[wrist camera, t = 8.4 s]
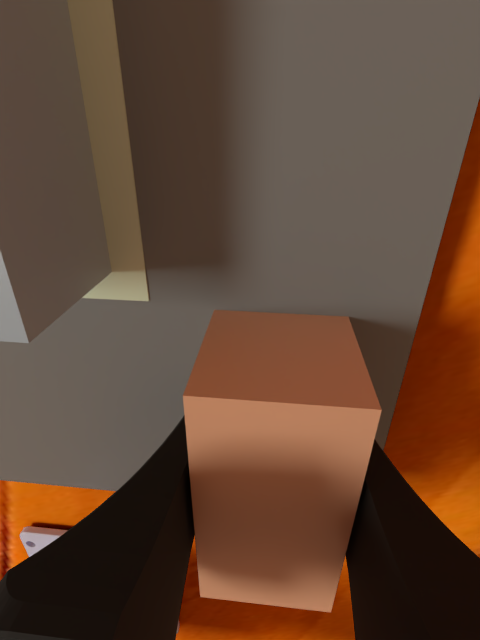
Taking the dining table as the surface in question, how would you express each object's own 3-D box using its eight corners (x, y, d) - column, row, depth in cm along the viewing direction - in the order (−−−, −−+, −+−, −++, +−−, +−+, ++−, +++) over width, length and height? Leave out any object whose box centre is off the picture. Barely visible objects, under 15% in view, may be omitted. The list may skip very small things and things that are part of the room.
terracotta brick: (318, 494, 14) (331, 612, 11) (219, 485, 15) (200, 597, 11) (348, 316, 11) (381, 409, 7) (214, 309, 11) (182, 395, 7)
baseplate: (360, 489, 16) (366, 516, 15) (-120, 445, 18) (-147, 467, 17) (524, -178, 7) (572, -237, 6) (-483, -117, 9) (-593, -153, 8)
